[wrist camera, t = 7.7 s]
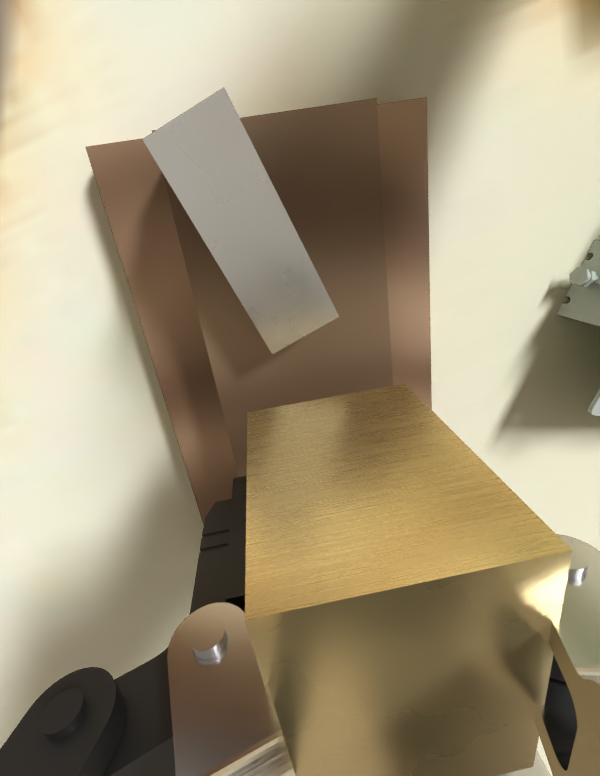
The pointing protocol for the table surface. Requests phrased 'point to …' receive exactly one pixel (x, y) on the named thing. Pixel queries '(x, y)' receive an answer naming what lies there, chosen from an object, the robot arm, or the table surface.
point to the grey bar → (242, 219)
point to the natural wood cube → (395, 591)
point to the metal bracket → (586, 300)
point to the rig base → (178, 303)
